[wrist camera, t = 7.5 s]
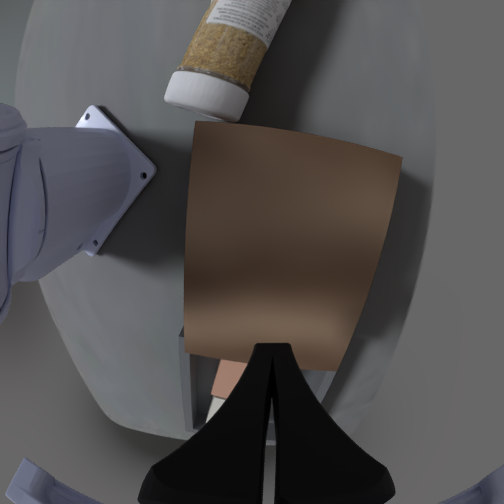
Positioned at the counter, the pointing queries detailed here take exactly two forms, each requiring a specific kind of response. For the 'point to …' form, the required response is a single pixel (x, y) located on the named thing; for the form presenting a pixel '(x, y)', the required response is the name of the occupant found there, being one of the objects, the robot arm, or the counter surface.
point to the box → (201, 382)
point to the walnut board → (281, 240)
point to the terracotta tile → (227, 377)
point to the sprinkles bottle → (225, 57)
